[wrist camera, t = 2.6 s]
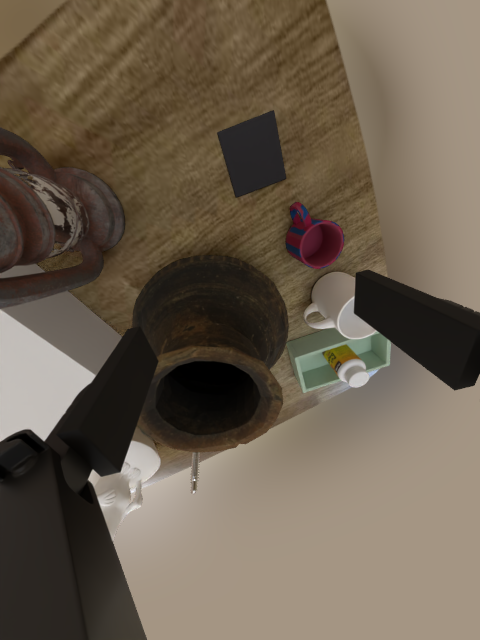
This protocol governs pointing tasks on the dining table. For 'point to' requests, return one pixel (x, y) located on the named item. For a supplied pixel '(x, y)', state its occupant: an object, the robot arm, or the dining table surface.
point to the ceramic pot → (211, 353)
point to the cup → (313, 239)
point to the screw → (194, 471)
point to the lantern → (51, 222)
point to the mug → (337, 306)
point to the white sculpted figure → (126, 481)
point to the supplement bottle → (347, 365)
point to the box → (47, 357)
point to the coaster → (253, 153)
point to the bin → (309, 348)
